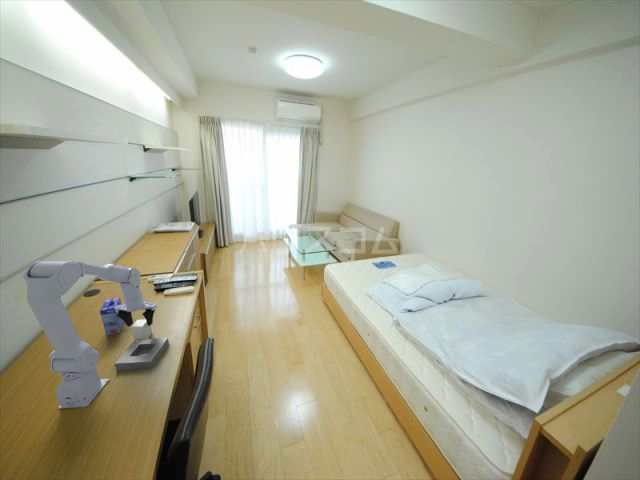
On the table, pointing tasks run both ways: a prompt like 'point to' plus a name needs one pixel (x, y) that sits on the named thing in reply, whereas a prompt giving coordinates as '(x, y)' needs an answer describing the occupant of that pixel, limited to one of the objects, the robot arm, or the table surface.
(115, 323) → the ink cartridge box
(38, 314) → the robot arm
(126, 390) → the table surface
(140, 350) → the block
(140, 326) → the brick
